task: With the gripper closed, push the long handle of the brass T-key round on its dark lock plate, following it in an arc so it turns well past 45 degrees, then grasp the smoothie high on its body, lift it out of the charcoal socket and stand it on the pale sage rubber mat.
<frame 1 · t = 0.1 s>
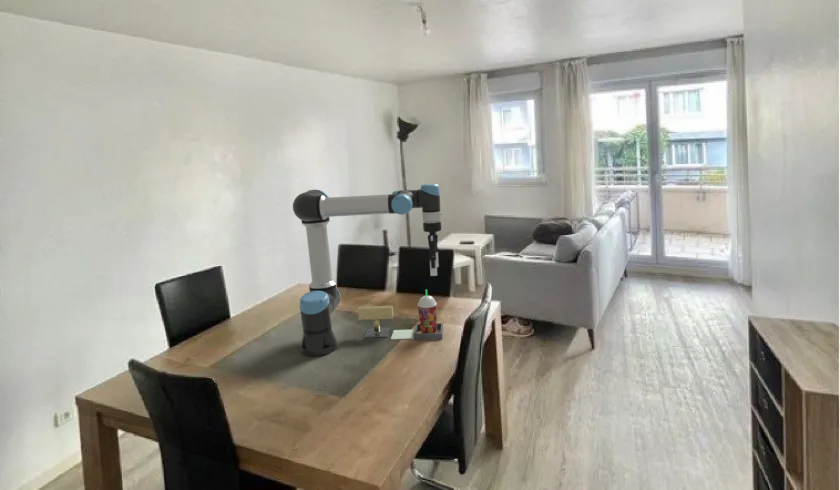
hand: (434, 271, 210), 28 cm above the table, fingers open, 13 cm apart
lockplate: (377, 333, 220), on the table
smoothie: (429, 334, 216), resting in socket
socket: (429, 333, 216), on the table
mat: (403, 334, 216), on the table
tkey: (376, 319, 218), point 7 cm above the table, hinge at 0.0°
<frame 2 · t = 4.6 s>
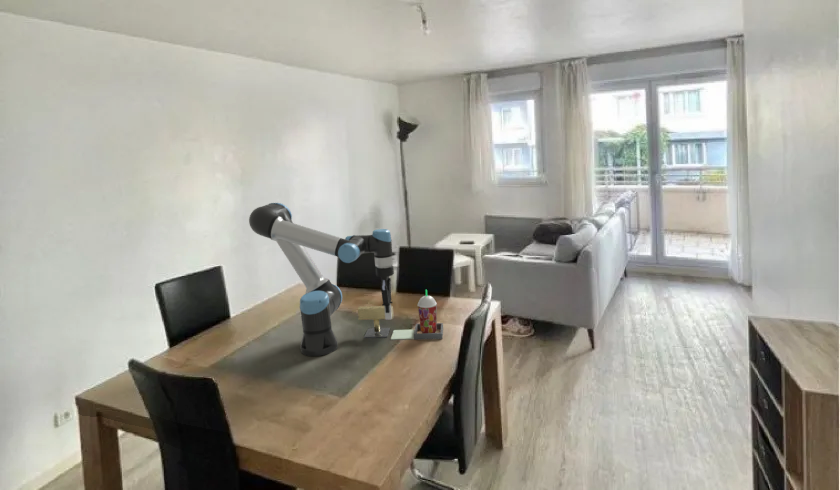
hand: (388, 318, 214), 8 cm above the table, fingers closed
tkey: (376, 319, 218), point 7 cm above the table, hinge at 0.0°, touching gripper
everything else where it was.
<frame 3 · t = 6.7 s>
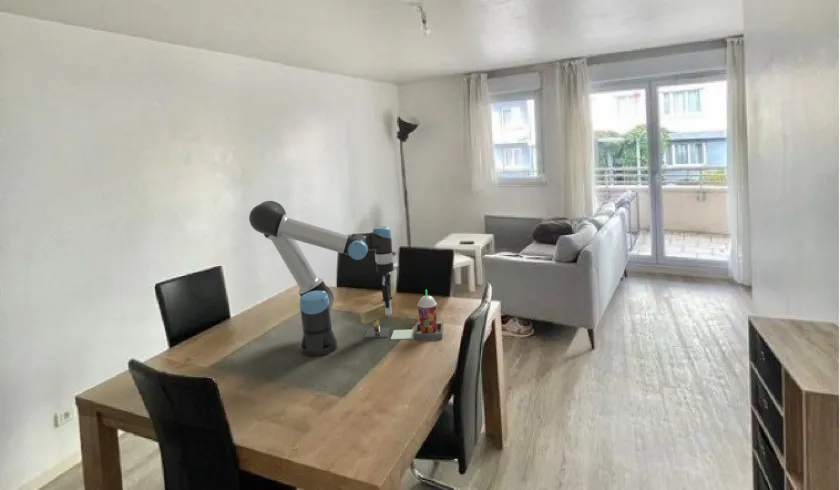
hand: (388, 314, 220), 8 cm above the table, fingers closed
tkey: (376, 319, 218), point 7 cm above the table, hinge at 51.6°, touching gripper
everything else where it was.
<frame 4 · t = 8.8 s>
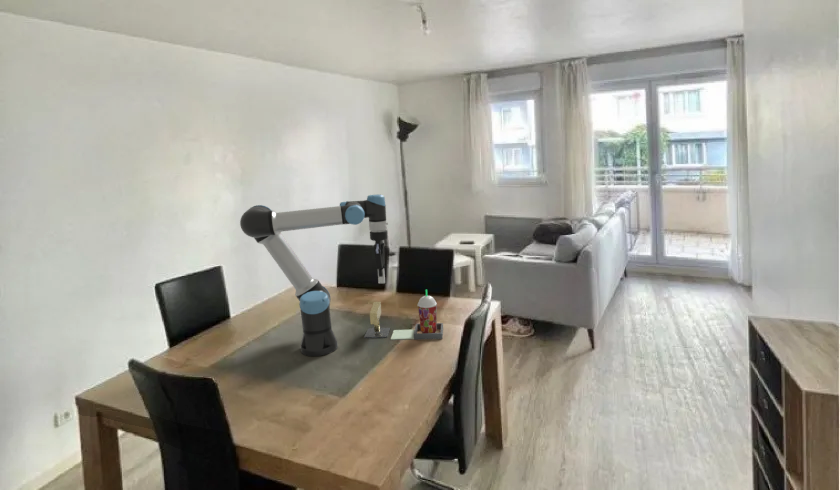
hand: (381, 282, 220), 22 cm above the table, fingers closed
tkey: (376, 319, 218), point 7 cm above the table, hinge at 93.1°
everything else where it was.
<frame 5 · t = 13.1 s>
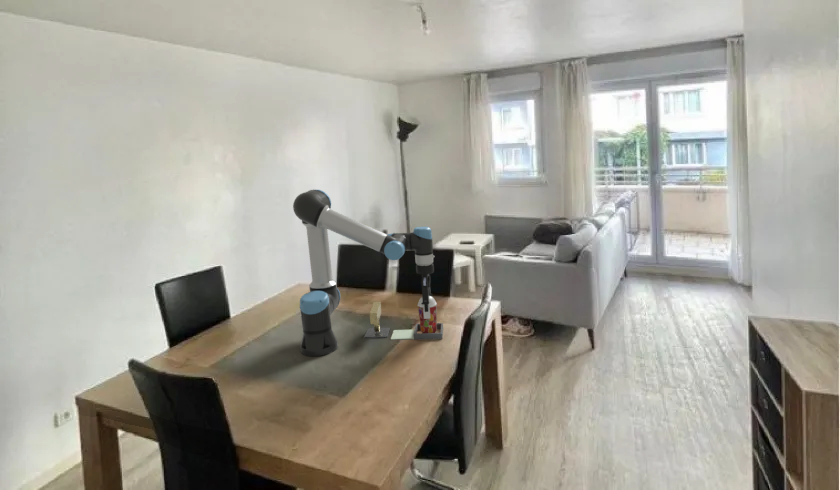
hand: (427, 314, 214), 9 cm above the table, fingers closed on smoothie, 8 cm apart
smoothie: (429, 334, 216), resting in socket, touching gripper
everything else where it was.
when the fingers open (10 cm above the table, at t = 20.1 s): smoothie stays where it is, resting on mat.
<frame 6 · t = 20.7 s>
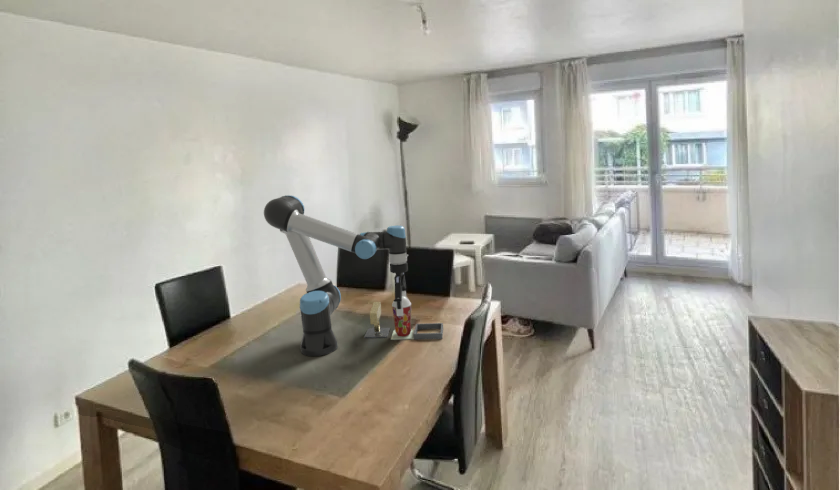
hand: (401, 310, 214), 11 cm above the table, fingers open, 13 cm apart
smoothie: (403, 334, 216), resting on mat
everything else where it was.
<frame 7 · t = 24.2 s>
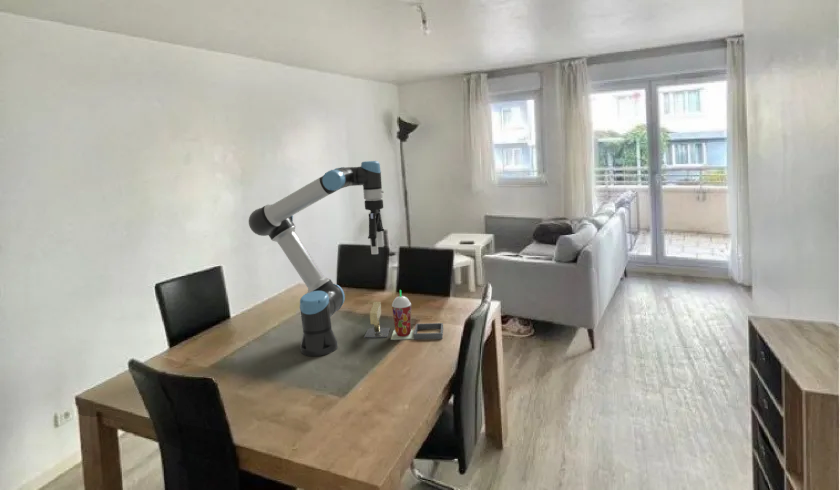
hand: (377, 250, 206), 39 cm above the table, fingers open, 13 cm apart
nothing on the table moved.
at the end: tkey at +93° (first picture: +0°); smoothie inside the target area on the mat (0.1 cm from its centre), point 0.2 cm above the mat's base; smoothie tilted 0° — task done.
